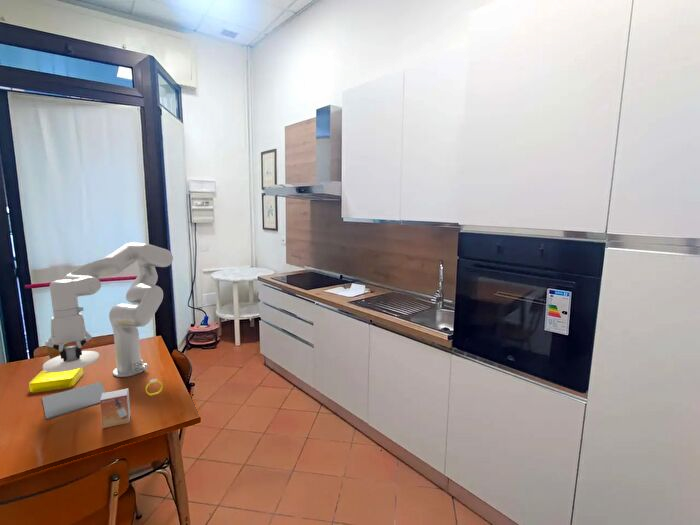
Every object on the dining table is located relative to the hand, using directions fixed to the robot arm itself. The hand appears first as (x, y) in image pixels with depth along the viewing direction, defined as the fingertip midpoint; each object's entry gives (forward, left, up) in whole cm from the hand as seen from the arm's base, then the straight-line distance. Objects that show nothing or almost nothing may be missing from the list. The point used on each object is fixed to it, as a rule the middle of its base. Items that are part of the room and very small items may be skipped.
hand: (71, 358), depth 135 cm
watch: (-27, -9, -17) cm, 33 cm away
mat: (0, 0, -17) cm, 17 cm away
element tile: (+20, -10, -18) cm, 29 cm away
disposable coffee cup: (+37, -27, -17) cm, 49 cm away
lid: (0, 0, -1) cm, 1 cm away
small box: (-27, +10, -17) cm, 34 cm away
